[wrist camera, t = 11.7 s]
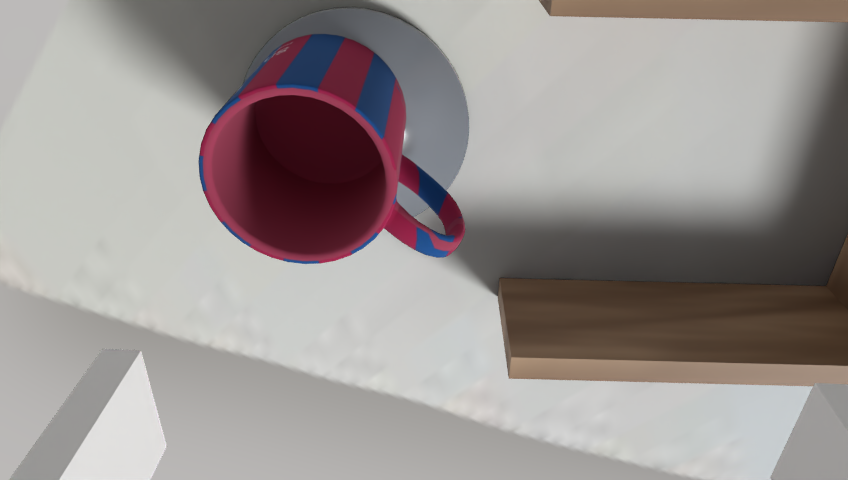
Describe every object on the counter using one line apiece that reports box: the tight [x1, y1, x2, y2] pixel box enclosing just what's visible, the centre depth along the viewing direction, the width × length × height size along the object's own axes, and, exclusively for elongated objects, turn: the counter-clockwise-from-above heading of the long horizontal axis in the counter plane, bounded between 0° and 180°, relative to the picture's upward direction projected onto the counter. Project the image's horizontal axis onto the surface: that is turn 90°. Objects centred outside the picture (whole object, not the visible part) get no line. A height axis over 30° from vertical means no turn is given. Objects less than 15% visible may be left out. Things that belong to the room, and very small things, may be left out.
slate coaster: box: [243, 7, 469, 217], centre depth 28 cm, size 10×10×1 cm
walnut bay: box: [498, 0, 848, 386], centre depth 26 cm, size 16×18×6 cm
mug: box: [199, 34, 465, 264], centre depth 25 cm, size 7×10×7 cm
